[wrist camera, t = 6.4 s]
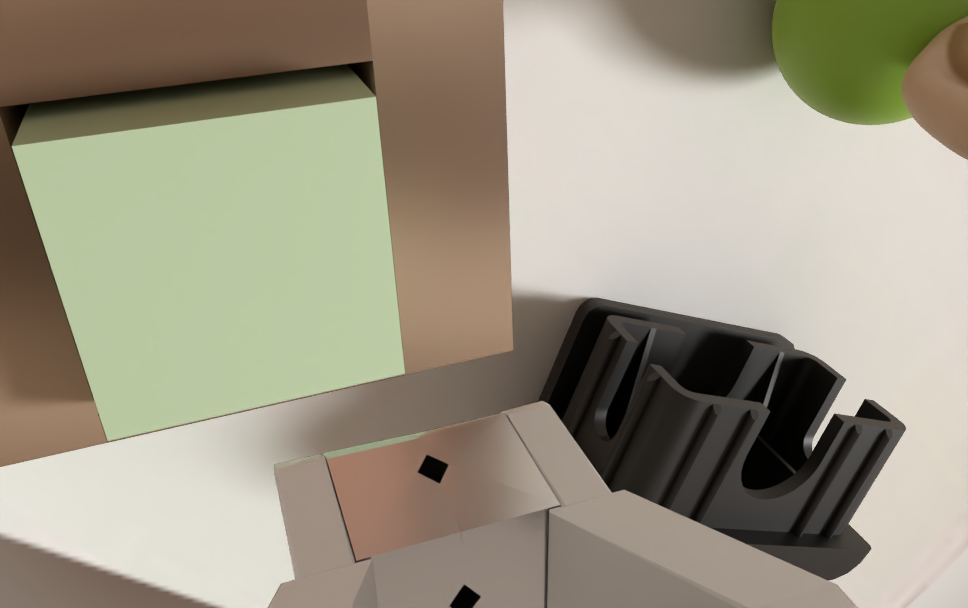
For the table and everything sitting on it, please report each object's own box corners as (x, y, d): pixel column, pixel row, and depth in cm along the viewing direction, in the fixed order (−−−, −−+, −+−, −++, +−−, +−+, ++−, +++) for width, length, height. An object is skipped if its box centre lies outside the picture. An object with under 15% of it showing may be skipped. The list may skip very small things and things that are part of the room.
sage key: (36, 85, 17) (11, 146, 14) (334, 50, 19) (375, 96, 15) (113, 341, 20) (107, 440, 17) (364, 291, 22) (405, 373, 18)
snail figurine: (685, -36, 23) (1093, 60, 13) (884, -131, 24) (1414, -107, 14) (720, 139, 26) (1075, 326, 16) (896, 51, 27) (1341, 178, 17)
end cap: (493, 473, 29) (575, 623, 24) (569, 290, 27) (681, 411, 21) (715, 492, 34) (829, 622, 28) (798, 337, 31) (941, 446, 26)
